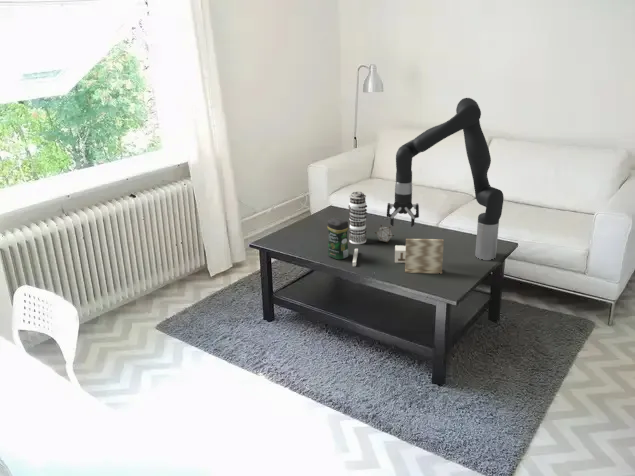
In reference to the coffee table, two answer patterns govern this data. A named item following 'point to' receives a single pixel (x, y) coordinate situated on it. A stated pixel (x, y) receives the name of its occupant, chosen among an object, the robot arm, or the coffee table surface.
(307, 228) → the coffee table surface
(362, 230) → the decorative candle
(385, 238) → the game die
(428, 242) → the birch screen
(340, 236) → the coffee jar
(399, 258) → the letter cube
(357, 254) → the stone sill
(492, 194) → the robot arm
